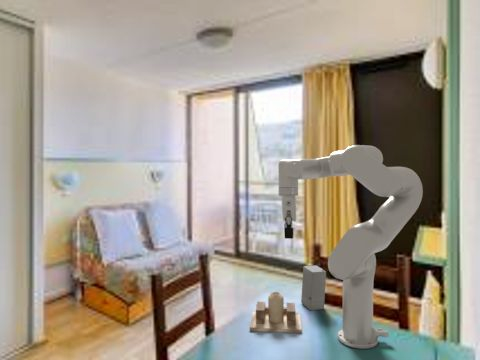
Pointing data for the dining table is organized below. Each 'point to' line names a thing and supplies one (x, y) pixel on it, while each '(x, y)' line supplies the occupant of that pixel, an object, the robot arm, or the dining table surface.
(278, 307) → the candle
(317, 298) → the skincare box
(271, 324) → the holder
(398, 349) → the dining table surface
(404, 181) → the robot arm
